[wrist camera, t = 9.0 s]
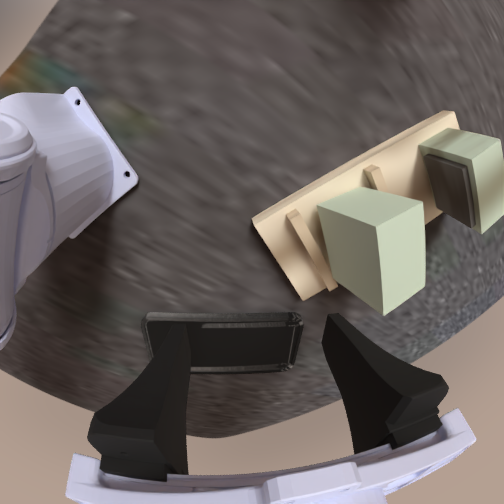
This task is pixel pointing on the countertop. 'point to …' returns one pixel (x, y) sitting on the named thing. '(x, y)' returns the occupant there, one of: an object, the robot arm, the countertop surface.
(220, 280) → the countertop surface
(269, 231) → the block holder
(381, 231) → the block
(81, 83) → the countertop surface
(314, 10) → the countertop surface
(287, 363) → the phone
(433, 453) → the robot arm
